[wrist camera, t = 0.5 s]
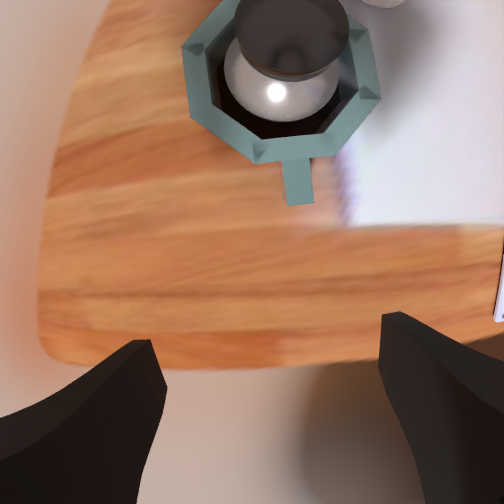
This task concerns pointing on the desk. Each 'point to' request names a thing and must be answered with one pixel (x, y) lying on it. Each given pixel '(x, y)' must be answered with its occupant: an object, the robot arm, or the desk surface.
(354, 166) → the desk surface
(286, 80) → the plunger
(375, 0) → the cream rounded block
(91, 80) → the desk surface
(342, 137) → the grey-green octagonal bowl
